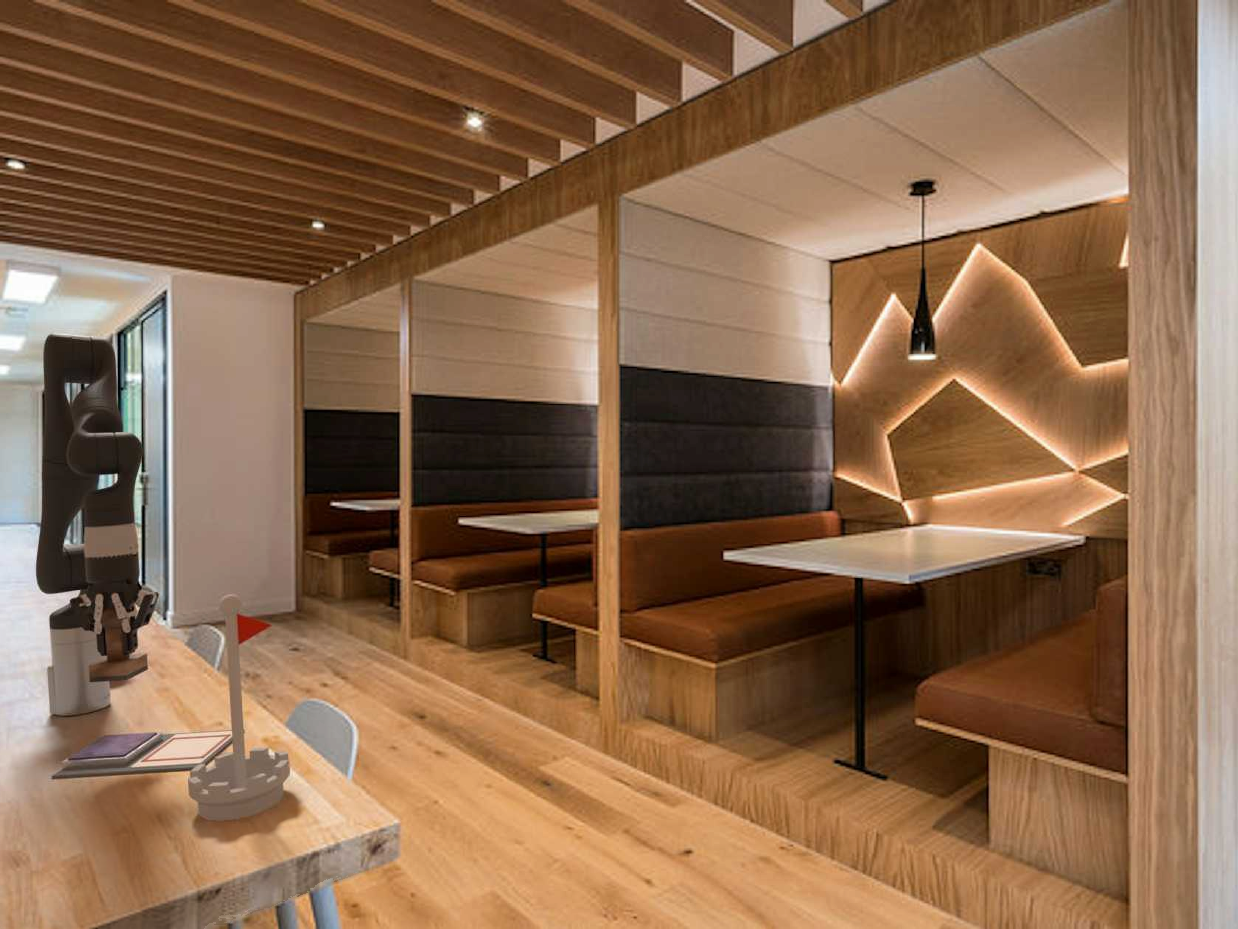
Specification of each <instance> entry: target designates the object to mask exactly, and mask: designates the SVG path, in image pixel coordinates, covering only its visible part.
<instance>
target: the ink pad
mask: <svg viewBox="0 0 1238 929" xmlns="http://www.w3.org/2000/svg"><path fill="white" fill-rule="evenodd" d="M162 734H163V731H162V732H157V731H154V732H141V733H140V732H139V733H136V732H135V733H123V734H119V733H118V734H107V735H103V736H101V737H100V738H98V739H96V740H95V741H93V742H92V743H90V744H88V745H86V746H85V747H84V748H82V749H80V750H79V751H76V752H75V753H74V754H72V755H70V756H69V757H68V758H67V757H66V758H65V759H64V760H62V761H61V770H62V769H73V768H89V767H105V766H121V765H127V764H128V763H130V762H131V761H133V760H134V759H135V758H137V757H138V756H140V755H141V754H143V753H144V752H145V751H147V750H148V749H150V748H151V747H152V746H154V745H155V744H157V743H158V742H159V741H161V740H162V739H163V735H162Z"/></svg>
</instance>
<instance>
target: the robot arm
mask: <svg viewBox="0 0 1238 929" xmlns="http://www.w3.org/2000/svg"><path fill="white" fill-rule="evenodd" d="M42 353H43V354H42V355H43V357H42V358H43V361H42V363H43V367H42V368H43V386H44V387H43V388H44V392H43V394H44V429H43V430H44V431H43V445H42V456H41V457H42V458H41V459H42V461H41V519H40V528H39V535H38V543H37V544H38V545H37V550H36V561H35V578H36V583H37V586H38V589H39V591H41V592H42V593H44V594H46V595H55V594H63V593H70V592H75V591H79V594H78V595H77V596H76V597H72V598H70V600H69V603H68V604H66V605H64V606H63V607H60V608H58V609H56V610H54V611H53V612H51V613H50V614H49V619H48V620H49V621H48V622H49V636H50V637H49V638H50V649H51V651H50V652H51V665H48V666H47V668H46V673H47V674H46V675H47V687H48V704H49V715H57V716H61V717H66V716H79V715H83V714H88V713H89V714H90V713H91V712H92V713H93V712H96V711H99V710H102V709H105V708H106V707H108V706H109V705H110V704H111V689H110V688H111V687H110V681H104V682H90V681H89V666H88V665H90V664H93V663H95V662H97V661H100V660H102V659H104V658H106V657H107V654H106V639H105V628H104V627H103V626H102V625H101V623H100V620H101V617H102V614H103V612H104V610H106V609H108V608H115V609H116V612H117V616H118V619H120V620H123V622H122V627H123V631H124V632H125V633H122V637H123V652H124V655H130V654H135V652H136V650H137V649H138V647H139V643H138V642H139V641H138V640H139V638H138V630H139V629H140V628H142V627H145V626H148V625H149V624H150V621H151V619H152V616H153V614H154V610H155V608H156V605H157V602H158V599H159V596H160V594H159V592H157V591H152V592H151V591H148V590H145V589H143V586H142V585H141V583H140V575H141V573H140V558H139V557H140V556H139V539H138V533H137V528H136V523H135V509H134V507H135V504H134V496H135V487H136V482H137V477H138V473H139V470H140V467H141V464H142V459H143V454H144V448H143V445H142V442H141V440H140V438H139V437H138V436H136V435H135V434H133V433H132V432H124V424H123V420H122V416H121V411H120V408H119V404H118V377H117V376H118V374H117V359H116V352H115V349H114V346H113V345H112V343H111V342H110V341H109V340H108V339H107V338H104V337H99V336H92V335H90V336H89V335H82V334H81V335H80V334H70V333H58V332H56V333H54V332H53V333H50V334H48V335H47V336H46V339H45V341H44V346H43V352H42ZM65 384H81V385H87V386H85V387H84V388H83V389H81V390H80V391H79V392H78V394H76V395H75V397H74V398H73V401H72V404H71V403H70V401H69V399H68V396H67V394H66V393H67V392H66V389H65V388H66V387H65ZM107 475H118V477H117V480H116V482H115V483H114V484H112V485H110V486H107V487H104V488H100V489H97V487H98V485H99V483H100V476H107ZM81 509H83V520H84V521H83V523H84V533H83V534H84V535H83V543H78V544H77V543H76V544H70V545H69V544H68V545H65V540H66V536H67V533H68V531H69V528H70V526H71V524H72V522H73V521H74V519H75V517H76V516H77V515H78V514H79V513H80V511H81ZM138 599H139V604H140V607H139V609H137V605H136V602H137V601H138ZM127 610H129V611H130V612H129V613H127V612H126V611H127ZM130 617H131V620H130Z"/></svg>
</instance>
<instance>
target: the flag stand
mask: <svg viewBox="0 0 1238 929" xmlns="http://www.w3.org/2000/svg"><path fill="white" fill-rule="evenodd" d="M242 602H243V601H242V599H241V598H240V597H239V595H236V594H233V593H231V594H226V595H223V597H222V598H220V600H219V603H218V608H219V610H220V612H221V613H222V614H223V615H224V620H225V622H224V623H225V638H226V653H227V654H226V655H227V670H228V671H227V672H228V673H227V674H228V686H229V687H228V688H229V703H230V704H229V705H230V706H229V708H230V719H231V720H230V722H231V730H232V751H229V752H226V753H223V754H220V755H217V756H215V757H214V758H213V759H214V765H211V766H209V767H207V764H199V765H198V766H196V767H195V768H193V769H192V770H189V777H188V778H187V786H188V797H189V798H191V799H192V800H193V801H195V802H197V810H198V816H199V817H200V816H201V817H200V818H202V819H203V818H206V819H207V821H210V820H215V821H214V822H225V821H224V820H230V821H234V820H233V819H236V820H238V819H237V818H241V819H245V818H249V817H251V816H255V815H257V814H260V813H262V812H263V813H264V812H265V811H267V810H269V809H271V808H272V807H274V806H275V805H277V804H278V803H279V802H280V801H281V800H282V799H283V797H284V783H285V782H286V780H288V778H289V777H290V775H291V764H290V759H289V758H290V757H289V753H288V752H287V751H286V750H284V749H278V750H276V751H274V755H272V754H269V747H253V748H252V747H251V748H250V749H249V756H246V747H245V728H244V713H243V696H242V680H241V675H242V674H241V660H240V645H241V644H243V643H244V642H247V641H248V640H249V639H252V638H253V637H254V636H255V637H256V635H259V634H260V633H261V632H263V631H265V630H267V629H268V628H270V627H271V626H273V624H270V623H267V622H264V621H260V620H257V619H255V618H251V617H248V616H245V615H241V614H238V612H240V610H241V609H242V606H243V603H242ZM248 816H249V817H248ZM244 817H245V818H244ZM206 819H205V820H206Z"/></svg>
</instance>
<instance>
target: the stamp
mask: <svg viewBox="0 0 1238 929" xmlns="http://www.w3.org/2000/svg"><path fill="white" fill-rule="evenodd" d="M126 612H127V613H129V612H130V611H129V610H127V611H126ZM130 620H131V617H130ZM122 622H123V620H120V619H118V616H117V612H116V609H115V608H108V609H106V610H104V612H103V614H102V617H101V620H100V623H101V625H102V626H103V627H104V628H105V639H106V654H107V657H106V658H104V659H102V660H100V661H97V662H95V663H93V664H90V665H88V666H89V681H90V682H104V681H109V682H117V681H119V682H120V681H128V680H130V679H132V678H134V677H136V676H138V675H141V674H142V673H144V672H146V671H148V670H149V667H148V666H149V665H148V663H149V662H148V653H132V654H130V655H124V652H123V637H122V633H125V632H124V631H123V627H122Z"/></svg>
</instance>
